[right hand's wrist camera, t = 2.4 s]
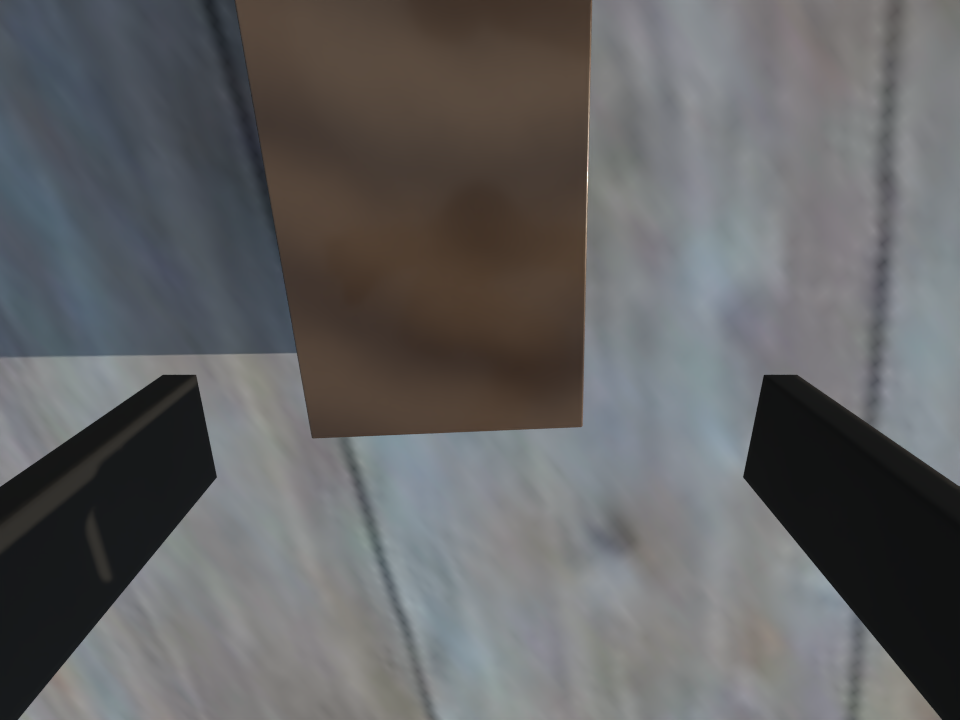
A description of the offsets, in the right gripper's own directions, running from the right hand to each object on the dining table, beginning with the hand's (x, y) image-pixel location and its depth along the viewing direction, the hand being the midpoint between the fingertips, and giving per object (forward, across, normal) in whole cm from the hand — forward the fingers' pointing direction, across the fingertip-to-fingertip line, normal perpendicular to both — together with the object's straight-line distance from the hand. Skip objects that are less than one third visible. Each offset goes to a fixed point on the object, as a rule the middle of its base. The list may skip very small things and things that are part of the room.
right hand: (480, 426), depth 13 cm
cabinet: (+19, +2, -6) cm, 20 cm away
